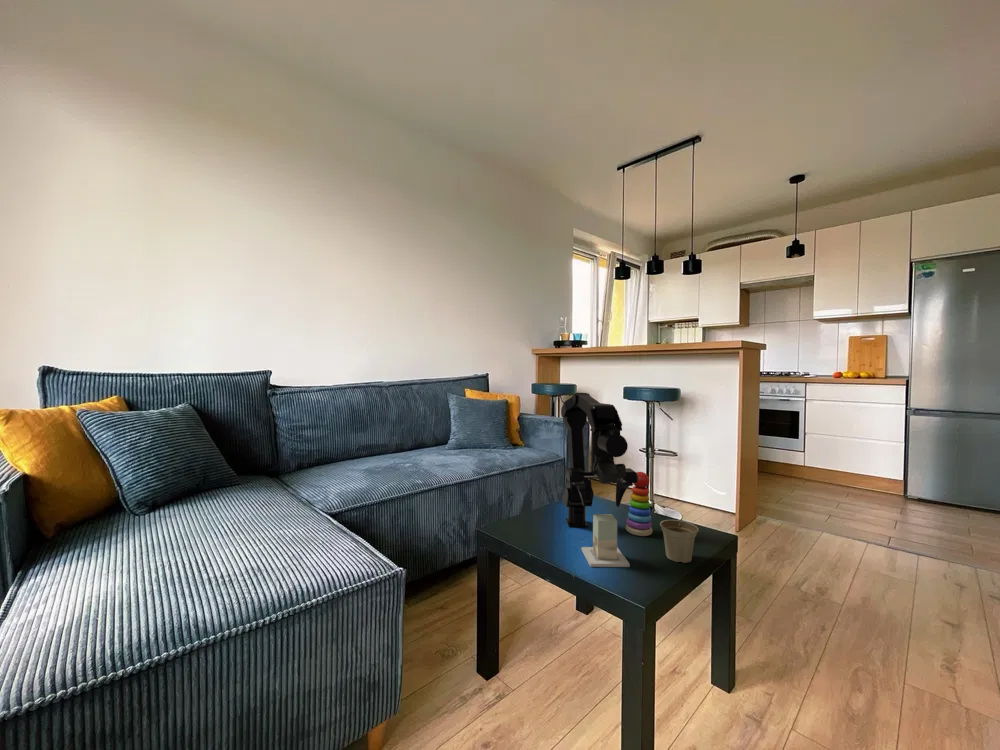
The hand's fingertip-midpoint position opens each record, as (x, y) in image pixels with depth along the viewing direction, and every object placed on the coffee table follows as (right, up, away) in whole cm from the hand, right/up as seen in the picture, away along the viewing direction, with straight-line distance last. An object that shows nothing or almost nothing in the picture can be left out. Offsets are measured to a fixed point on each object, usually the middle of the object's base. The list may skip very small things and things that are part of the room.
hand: (600, 506), depth 112 cm
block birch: (0, -12, -4) cm, 12 cm away
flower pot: (+20, -13, -3) cm, 24 cm away
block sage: (0, -7, -4) cm, 8 cm away
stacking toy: (+15, -13, +15) cm, 25 cm away
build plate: (0, -13, -4) cm, 13 cm away
